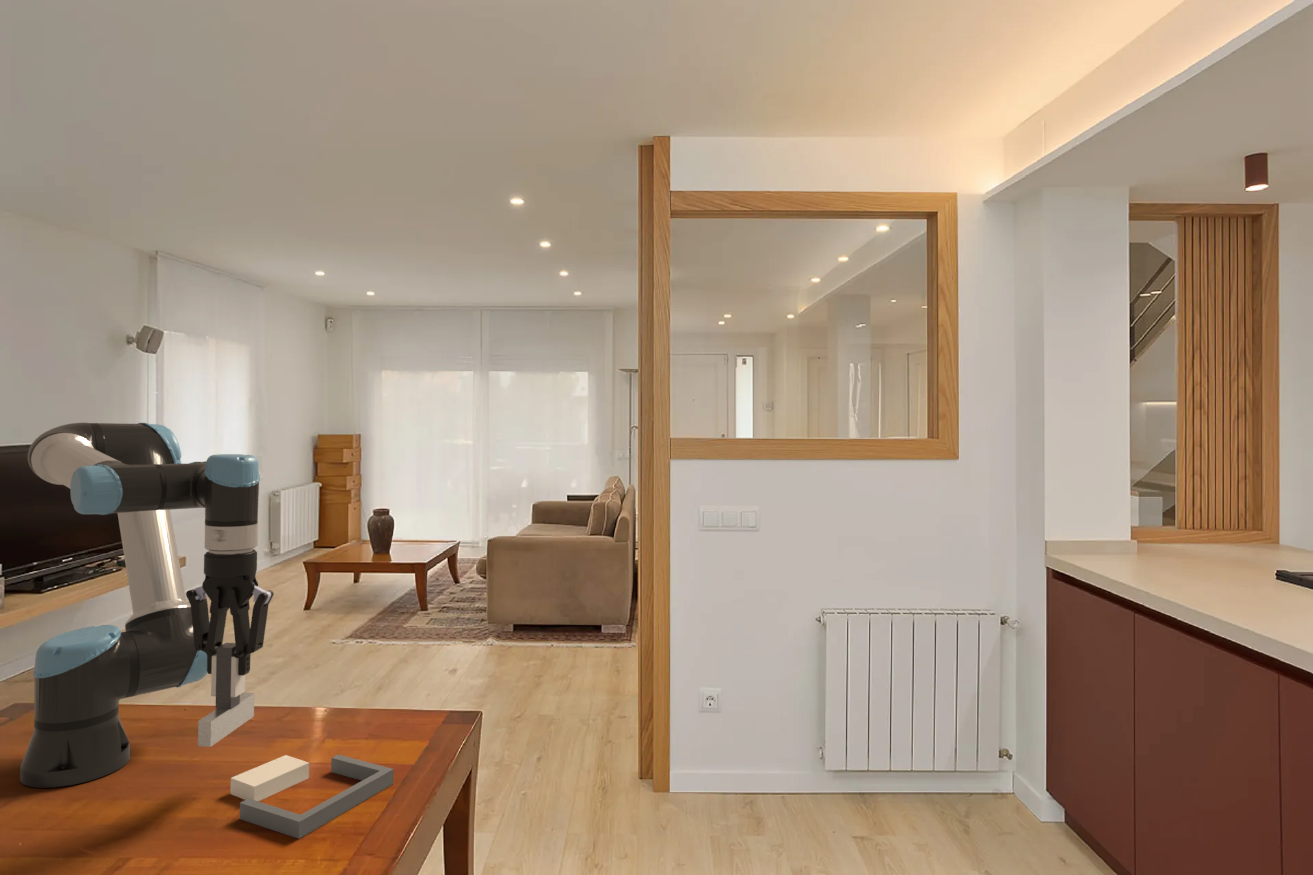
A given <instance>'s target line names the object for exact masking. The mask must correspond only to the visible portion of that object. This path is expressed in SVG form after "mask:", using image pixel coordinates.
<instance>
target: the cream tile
mask: <svg viewBox="0 0 1313 875" xmlns="http://www.w3.org/2000/svg"><path fill="white" fill-rule="evenodd" d="M309 778H310V762H308V761H305V760H303V759H298V758H296V757H293V756H291V755H287V754H285V755H283V756H280V757H278V758H276V759H273V760H271V761H268V762H265V763H263V764H261V765H259V766H256V767H254V768H251V769H249V770H246V771H243V772H242V773H238V774H236V775H235V776H232V777H230V795H232V796H235V797H238V798H240V799H241V800H243V801H244V800H247V799H252V800H255V801H258V802H261V801H263V800H265V799H266V798H269V797H271V796H273V795H275V794H278V793H279V792H282V791H284V790H286V789H288V788H290V787H294V786H296V785H297V784H299V783H301V782H303V781H306V780H307V779H309Z"/></svg>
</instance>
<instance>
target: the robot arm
mask: <svg viewBox="0 0 1313 875" xmlns="http://www.w3.org/2000/svg"><path fill="white" fill-rule="evenodd" d="M181 458H182V452H181V447H180V443H179V441H178V439H177V437H176V435H175V433H174V432H173V431H172V430H171V429H170V428H168V427H167V426H165V425H164V424H159V423H158V424H156V423H155V424H154V423H147V422H138V423H114V422H113V423H109V422H108V423H107V422H106V423H105V422H103V423H102V422H74V423H67V424H63V425H58V426H57V427H56V426H55V427H54V428H51V429H49V430H47V431H45V432H43V433H41V434H40V435H39V436H38V437H36V438H35V439H34V440H33V442H32V443H31V445H30V446H29V449H28V453H27V462H28V464H29V465H28V466H29V467H30V469H31V470H32V472H33V473H34V474H35V475H36V476H37V477H39V478H40V479H42V480H43V481H45V482H47V483H50V484H52V485H59V486H60V485H61V486H62V485H63V486H65V487H67V488H68V489H70V492H69V493H70V500H71V503H72V505H73V508H74V510H75V512H76V513H78V514H80V515H99V516H100V515H101V516H106V515H107V516H108V515H111V514H117V517H118V519H117V520H118V525H119V531H120V538H121V544H122V549H123V556H124V562H125V568H126V569H125V570H126V576H127V581H128V582H127V583H128V588H129V589H128V591H129V596H130V601H131V606H132V607H131V609H132V615H131V616H130V617H129V618H128V619H127V620H126V622H125V624H124V627H125V628H124V629H125V631H121V630H120V629H119V627H118V626H116V625H112V624H102V625H98V626H92V625H91V626H86V627H82V628H78V629H73V630H70V631H67V632H66V631H65V632H64V633H61V634H58V635H56V636H53V637H51V638H49V639H48V640H46V641H44V642H43V643H42V644H40V646H39V647H38V648H37V650H36V653H35V659H34V668H33V672H32V675H33V677H34V695H33V696H34V698H33V699H34V700H33V701H34V702H33V703H34V704H33V705H34V706H33V708H34V710H33V713H34V714H33V715H34V717H33V718H34V720H33V733H32V735H31V737H30V740H29V743H28V745H27V748H26V750H25V753H24V755H23V758H22V761H21V763H20V766H19V767H20V768H19V781H20V783H21V784H23V785H25V786H27V787H31V788H37V789H38V788H39V789H41V788H42V789H46V788H51V789H52V788H61V787H66V786H67V787H68V786H74V785H77V784H83V783H86V782H90V781H94V780H96V779H99V778H102V777H104V776H108V775H110V774H113V773H114V772H116V771H119V770H120V769H121V768H123V767H124V766H125V765H126V764H127V763H129V761H130V759H131V744H130V740H129V739H128V736H127V734H126V731H125V729H124V726H123V724H122V722H121V719H120V714H119V709H120V708H119V707H120V706H119V704H120V700H123V699H128V698H132V697H136V696H137V697H138V696H141V695H145V694H151V693H154V692H159V691H163V690H168V689H173V688H181V687H182V686H184V685H185V686H186V685H188V684H192V683H193V684H194V683H196V682H199V681H201V680H203V679H204V678H205V677H206V676H207V675H211V676H210V678H211V680H210V682H211V683H210V684H211V686H210V688H211V689H210V696H211V697H216V660H217V647H218V646H220V645H222V644H224V643H223V641H224V634H225V630H226V629H225V627H226V620H227V615H228V611H229V613H230V616H232V623H233V631H234V632H233V634H234V641H235V642H234V643H235V644H236V654H234V656H233V657H231V697H237V696H238V695H240V694H242V693H246V692H245V691H246V675H247V674H249V673H250V671H251V654H253V653H255V652H257V651H259V650H260V649H263V648H264V647H263V646H264V640H265V633H266V627H267V619H268V613H269V612H268V611H269V606H270V605H269V604H270V603H271V601H272V598H273V597H274V594H275V593H274V591H273V590H271V589H269V590H265V589H263V588H262V587H260V586H259V583H258V580H257V578H256V574H257V571H258V570H257V569H258V551H257V550H256V547H257V546H258V540H259V538H258V537H259V535H258V534H259V532H258V528H259V526H258V525H259V522H258V519H259V517H258V516H259V494H260V493H259V492H260V488H259V487H260V486H259V485H260V481H261V480H260V479H261V476H260V470H259V467H260V466H259V460H258V458H257V457H256V456H255V455H252V454H240V453H239V454H238V453H237V454H236V453H233V454H231V453H230V454H229V453H227V454H226V453H225V454H223V453H222V454H219V453H218V454H212V455H210V456H208V458H206V461H193V462H188V463H182V461H181ZM186 509H204V549H205V550H207V551H206V552H205V553H204V555H203V574H204V576H205V578H204V580H203V582H202V585H200V586H199V587H195V588H192V589H190V590H188V591H186V592H185V586H184V581H183V577H182V576H183V575H182V571H181V565H180V558H179V552H178V549H177V548H178V547H177V544H176V543H177V542H176V535H175V531H174V526H173V520H172V514H171V510H186ZM252 596H253V600H252V601H253V602H254V604H253V608H252V613H251V620H250V615H249V614H250V613H249V610H250V600H251V598H252ZM207 597H208V598H209V600H210V607H209V605H208V600H207ZM187 600H188V602H187ZM209 613H210V615H209Z"/></svg>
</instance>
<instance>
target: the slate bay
mask: <svg viewBox="0 0 1313 875" xmlns="http://www.w3.org/2000/svg"><path fill="white" fill-rule="evenodd" d="M330 762H331V764H330V765H331V769H330V773H333V774H337V775H339V776H344V777H347V778H352V779H355V780H358V781H359V782H356V783H355V784H354V785H352V786H350V787H348V788H346V789H345V790H343V791H341V792H340V793H337V794H335V795H334V796H332V797H330V798H329V799H326V800H325V801H322V802H321V803H320V804H318V805H315V806H314V807H311V808H309V809H308V810H306V811H305V812H303V813H301V814H299V813H297V812H293V811H291V810H287V809H283V808H281V807H278V806H275V805H270V804H269V803H268V804H267V803H264V802H262V801H255V800H252V799H247V800H244V799H243V800H242V801H241V802H239V820H241V821H245V822H247V823H250V824H253V825H257V826H259V827H263V828H265V829H268V830H271V831H275V832H278V833H281V834H283V835H287V836H289V837H293V838H295V839H297V840H298V839H301V838H304V837H305V836H306V835H308V834H310V833H311V832H314V831H316V830H317V829H318V828H320V827H322V826H323V825H325V824H327V823H329V822H330V821H332V820H334V819H336V818H337V817H339V816H341V815H343V814H344V813H346V812H347V811H349V810H351V809H353V808H354V807H356V806H357V805H360V804H361V803H364V801H367V800H368V799H371V797H373V796H375V795H377V794H378V793H381V792H382V791H383V790H385V789H387V788H388V787H390V786H392V785H393V784H394V770H395V769H394V768H391V767H388V766H384V765H380V764H376V763H372V762H370V761H369V762H368V761H365V760H361V759H357V758H354V757H349V756H345V755H342V754H336V755H335V756H332V757H331V760H330Z"/></svg>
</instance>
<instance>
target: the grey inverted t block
mask: <svg viewBox="0 0 1313 875" xmlns="http://www.w3.org/2000/svg"><path fill="white" fill-rule="evenodd" d="M234 654H236V644H235V642H225V643H222V645H220V646H218V647H217V660H216V696H215V709H214V710H213V711H211V712H210V713H209V714H207V715H205V716H203V717H202V718H200V719H199V720H198V723H197V724H198V726H197V728H198V729H197V746H198V747H208V748H210V747H213V746H214V745H215V744H217V743H218V742H220V741H222V740H223V739H224V738H225V737H227V736H228V735H230V734H231V733H233V732H234V731H235V730H237V729H238V728H239V727H241V726H243V724H245V723H247V722H248V721H250V720H251V719H252V718H254V717H255V692H254V693H253V692H243V693H241V694H240V695H238V696H237V697H231V657H233V656H234Z"/></svg>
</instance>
